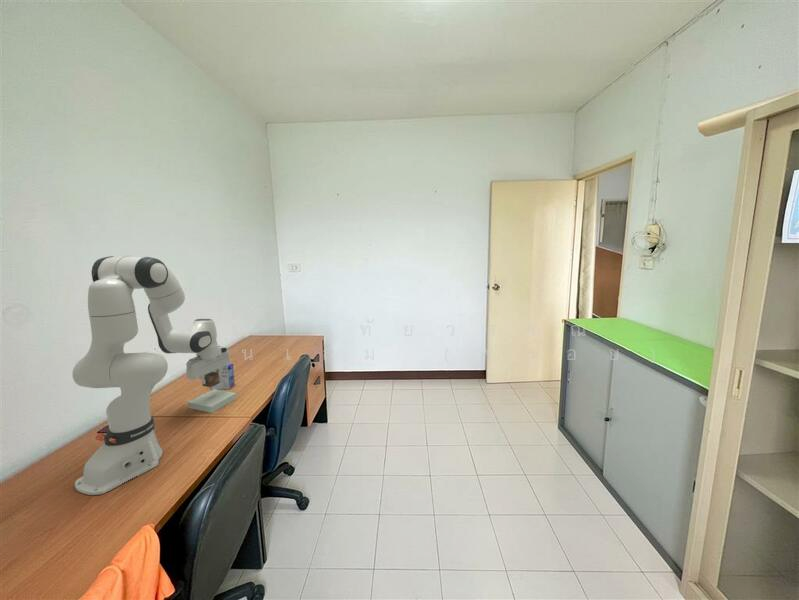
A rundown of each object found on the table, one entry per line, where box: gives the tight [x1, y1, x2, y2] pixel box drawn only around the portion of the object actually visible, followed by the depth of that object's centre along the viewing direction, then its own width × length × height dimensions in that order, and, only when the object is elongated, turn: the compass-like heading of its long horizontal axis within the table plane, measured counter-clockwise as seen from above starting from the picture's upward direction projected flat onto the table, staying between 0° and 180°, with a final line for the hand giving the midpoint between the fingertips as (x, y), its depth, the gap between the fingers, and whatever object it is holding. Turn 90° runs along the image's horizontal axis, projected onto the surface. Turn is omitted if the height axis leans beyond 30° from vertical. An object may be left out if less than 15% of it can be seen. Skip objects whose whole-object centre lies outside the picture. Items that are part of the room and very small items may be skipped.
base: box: [187, 389, 237, 414], centre depth 149 cm, size 14×14×3 cm
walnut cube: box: [201, 372, 220, 388], centre depth 147 cm, size 5×5×5 cm
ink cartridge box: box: [211, 363, 236, 390], centre depth 165 cm, size 10×6×14 cm, turn 89°
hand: (210, 380), depth 147 cm, fingers closed on walnut cube, 5 cm apart
